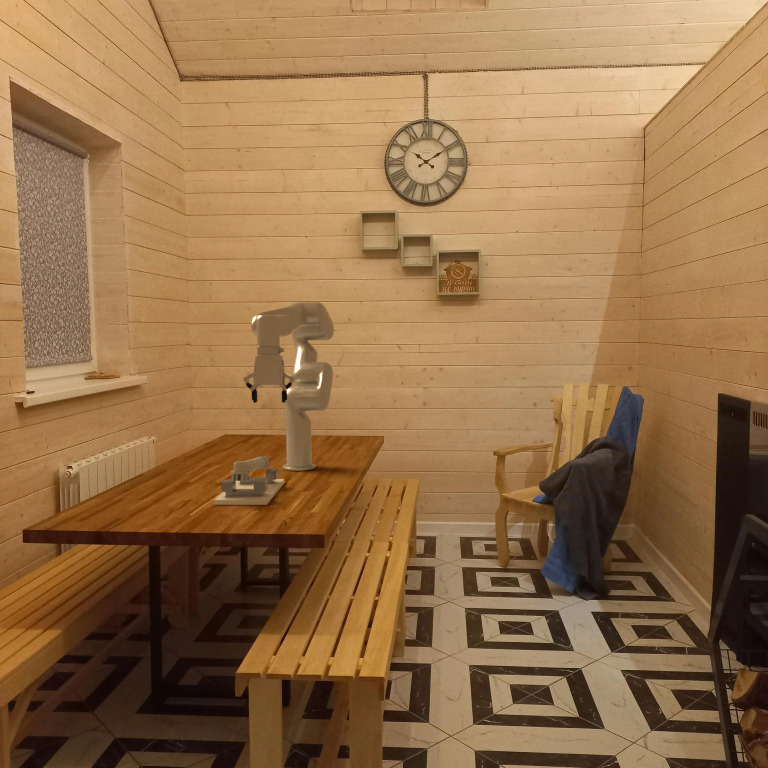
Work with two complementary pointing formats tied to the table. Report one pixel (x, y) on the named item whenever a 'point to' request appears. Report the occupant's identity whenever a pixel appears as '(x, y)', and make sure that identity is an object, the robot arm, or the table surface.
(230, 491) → the v blocks
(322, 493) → the table surface
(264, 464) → the white handheld device
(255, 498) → the stand board
